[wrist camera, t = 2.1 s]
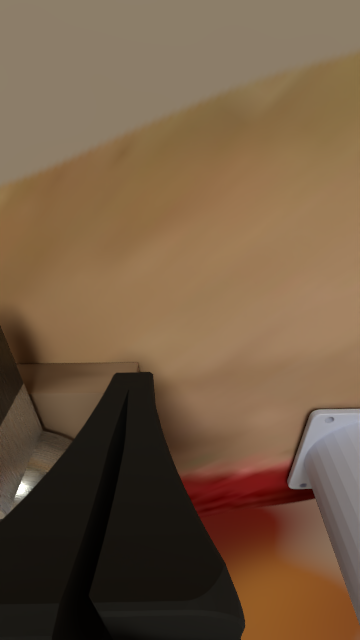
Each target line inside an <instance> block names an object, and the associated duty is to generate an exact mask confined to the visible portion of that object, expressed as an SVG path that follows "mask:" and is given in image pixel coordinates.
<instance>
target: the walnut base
mask: <svg viewBox="0 0 360 640" xmlns="http://www.w3.org/2000/svg"><path fill="white" fill-rule="evenodd" d="M16 365H17V368H18V370H19V373H20V375H21V378H22V380H23V383H24V385H25V387H26V390H27V392H28V395H29V397H30V400H31V402H32V405H33V407H34V410H35V412H36V414H37V417H38V419H39V422H40V424H41V427H42V429H43V430H42V431H46V432H50V433H54V434H57V435H60V436H63V437H65V438H68V439H70V440H72V441H73V440H74V438H75V437H76V436H77V434H78V433H79V431H80V430H81V429H82V427H83V426H84V424H85V423H86V421H87V420H88V418H89V417H90V415H91V414H92V412H93V410H94V409H95V407H96V406H97V404H98V403H99V401H100V399H101V397H102V396H103V394H104V392H105V391H106V389H107V387H108V385H109V383H110V381H111V379H112V377H113V375H114V374H115V373H126V372H139V365H138V363H65V364H16Z"/></svg>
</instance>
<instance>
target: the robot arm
mask: <svg viewBox="0 0 360 640" xmlns="http://www.w3.org/2000/svg"><path fill="white" fill-rule="evenodd" d="M287 483H288V486H289V487H290V488H292V489H313V492H314V495H315V498H316V501H317V504H318V507H319V509H320V512H321V515H322V518H323V521H324V524H325V527H326V529H327V532H328V535H329V538H330V541H331V544H332V547H333V549H334V553H335V555H336V558H337V561H338V564H339V567H340V570H341V573H342V575H343V578H344V581H345V584H346V587H347V590H348V593H349V595H350V598H351V601H352V604H353V607H354V610H355V613H356V616H357V619H358V621H359V624H360V409H319V410H315V411H313V412H312V413H311V414H310V416H309V419H308V422H307V425H306V427H305V430H304V433H303V436H302V439H301V442H300V445H299V448H298V451H297V454H296V457H295V460H294V463H293V466H292V468H291V471H290V474H289V477H288V480H287ZM244 628H245V619H244V614H243V610H242V607H241V603H240V600H239V598H238V595H237V592H236V590H235V587H234V584H233V582H232V580H231V577H230V575H229V572H228V570H227V567H226V564H225V562H224V560H223V559H222V557H221V555H220V553H219V552H218V550H217V548H216V547H215V545H214V543H213V541H212V540H211V538H210V536H209V534H208V533H207V531H206V529H205V527H204V525H203V523H202V521H201V520H200V518H199V516H198V514H197V512H196V510H195V508H194V506H193V504H192V502H191V500H190V498H189V496H188V494H187V492H186V490H185V488H184V485H183V483H182V481H181V479H180V476H179V474H178V472H177V469H176V467H175V465H174V462H173V460H172V457H171V454H170V452H169V449H168V446H167V443H166V440H165V437H164V434H163V431H162V428H161V425H160V421H159V417H158V413H157V410H156V405H155V393H154V380H153V374H152V373H150V372H126V373H115V374H114V375H113V377H112V379H111V381H110V383H109V385H108V387H107V389H106V391H105V392H104V394H103V396H102V397H101V399H100V401H99V403H98V404H97V406H96V407H95V409H94V410H93V412H92V414H91V415H90V417H89V418H88V420H87V421H86V423H85V424H84V426H83V427H82V429H81V430H80V431H79V433H78V434H77V436H76V437H75V438H74V440H73V441H72V442H71V444H70V445H69V446H68V448H67V449H66V450H65V452H64V453H63V454H62V455H61V457H60V458H59V459H58V460H57V462H56V463H55V464H54V465H53V466H52V468H51V469H50V470H49V471H48V472H47V473H46V474H45V476H44V477H43V478H42V479H41V480H40V481H39V482H38V483H37V484H36V486H35V487H34V488H33V489H32V490H31V491H30V492H29V493H28V494H27V495H26V496H25V497H24V498H23V499H22V500H21V502H20V503H18V504H17V505H16V506H15V507H14V508H13V509H12V510H11V511H10V512H9V513H8V514H7V515H6V516H5V517H4V518H3V519H2V520H1V521H0V640H241V636H242V633H243V631H244Z"/></svg>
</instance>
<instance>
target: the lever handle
mask: <svg viewBox="0 0 360 640" xmlns="http://www.w3.org/2000/svg"><path fill="white" fill-rule="evenodd" d="M42 430H43V429H42V427H41V424H40V422H39V419H38V417H37V414H36V412H35V410H34V407H33V405H32V402H31V400H30V397H29V395H28V392H27V390H26V387H25V385H24V383H23V380H22V378H21V375H20V373H19V370H18V368H17V365H16V363H15V360H14V358H13V356H12V353H11V351H10V348H9V346H8V343H7V341H6V338H5V336H4V333H3V331H2V329H1V326H0V521H1V520H2V519H3V518H4V517H5V516H6V515H7V514H8V513H9V512H10V511H11V510H12V509H13V508H14V507H15V506H16V505H17V504H18V503H20V502H21V500H22V499H23V498H24V497H25V496H26V495H27V494H28V493H29V492H30V491H31V490H32V489H33V488H34V487H35V486H36V484H37V483H38V482H39V481H40V480H41V479H42V478H43V477H44V476H45V474H46V473H47V472H48V471H49V470H50V469H51V468H52V466H53V465H54V464H55V463H56V462H57V460H58V459H59V458H60V457H61V455H62V454H63V453H64V452H65V450H66V449H67V448H68V446H69V445H70V444H71V442H72V440H70V439H68V438H65V437H63V436H60V435H57V434H54V433H50V432H46V431H42Z"/></svg>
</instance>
